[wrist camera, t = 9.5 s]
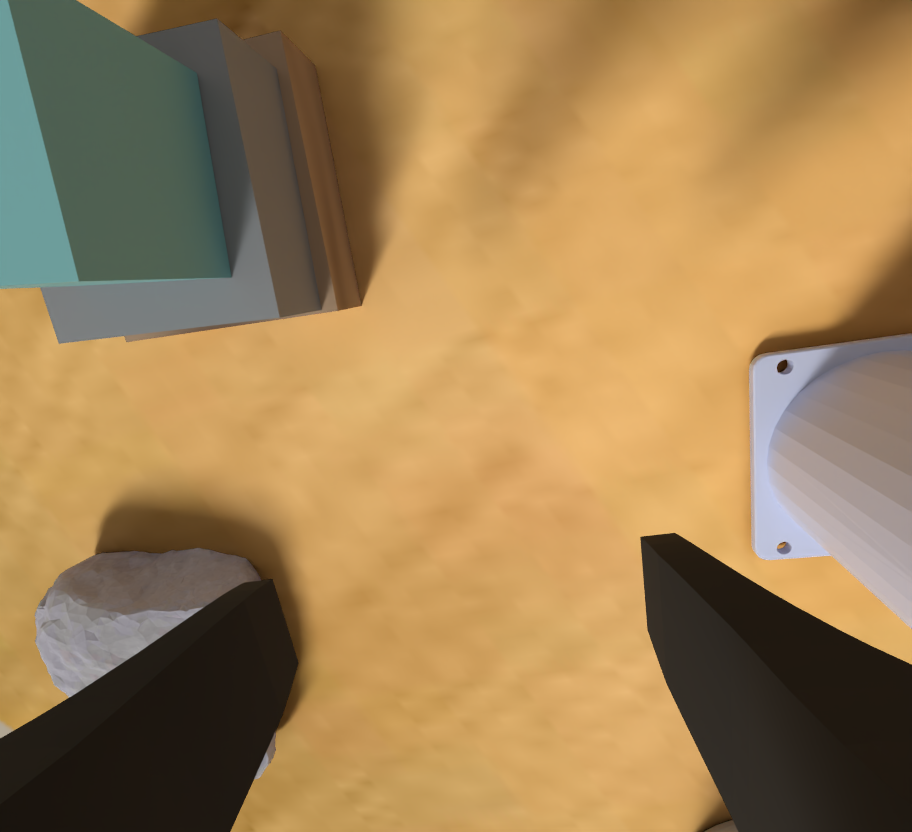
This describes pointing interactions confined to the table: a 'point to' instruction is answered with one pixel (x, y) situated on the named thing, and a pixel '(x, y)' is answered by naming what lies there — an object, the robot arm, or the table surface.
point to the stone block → (128, 609)
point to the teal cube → (100, 156)
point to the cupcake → (724, 827)
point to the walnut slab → (307, 181)
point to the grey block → (241, 205)
